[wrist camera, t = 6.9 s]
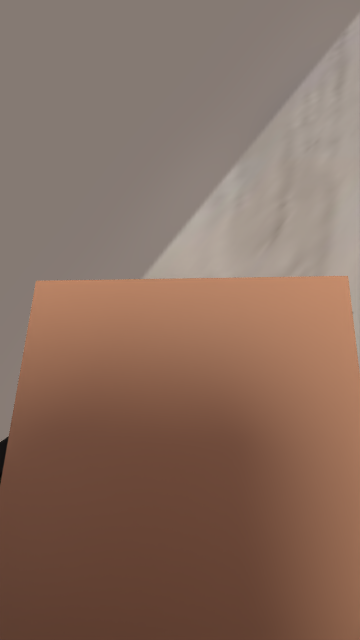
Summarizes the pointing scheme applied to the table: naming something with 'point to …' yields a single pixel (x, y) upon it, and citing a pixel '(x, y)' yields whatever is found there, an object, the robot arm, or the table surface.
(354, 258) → the table surface
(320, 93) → the table surface
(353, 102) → the table surface
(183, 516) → the terracotta block
